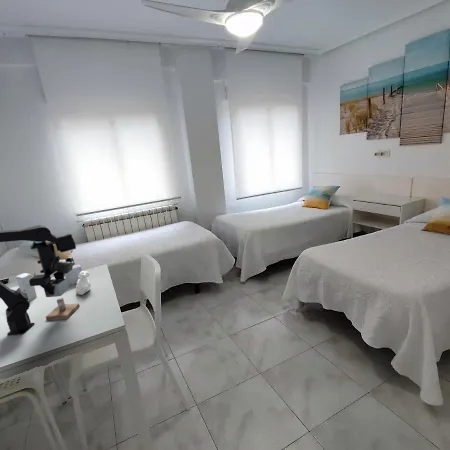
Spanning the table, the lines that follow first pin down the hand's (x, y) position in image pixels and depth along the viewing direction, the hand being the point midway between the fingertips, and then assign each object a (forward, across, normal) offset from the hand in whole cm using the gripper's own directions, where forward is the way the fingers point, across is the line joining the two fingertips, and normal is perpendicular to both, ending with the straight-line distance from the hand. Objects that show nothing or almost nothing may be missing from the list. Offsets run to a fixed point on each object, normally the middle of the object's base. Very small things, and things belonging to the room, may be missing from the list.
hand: (57, 290), depth 112 cm
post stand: (+11, 0, 0) cm, 11 cm away
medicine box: (+11, +30, +12) cm, 34 cm away
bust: (+11, +19, +1) cm, 22 cm away
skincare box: (+11, +16, +27) cm, 33 cm away
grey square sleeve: (+1, 0, 0) cm, 1 cm away
